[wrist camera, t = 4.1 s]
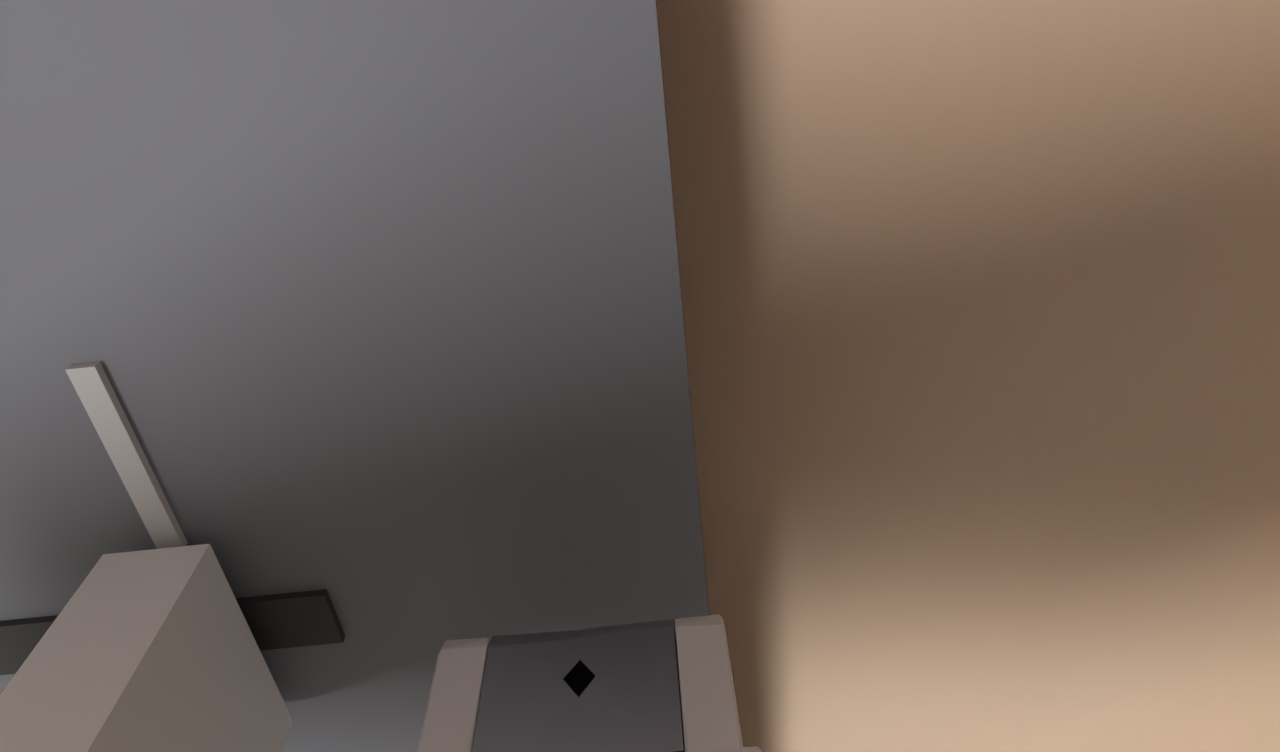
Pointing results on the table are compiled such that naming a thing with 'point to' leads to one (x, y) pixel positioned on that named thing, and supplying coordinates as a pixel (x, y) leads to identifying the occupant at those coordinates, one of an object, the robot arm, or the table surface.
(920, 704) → the table surface
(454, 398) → the console
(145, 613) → the fader
